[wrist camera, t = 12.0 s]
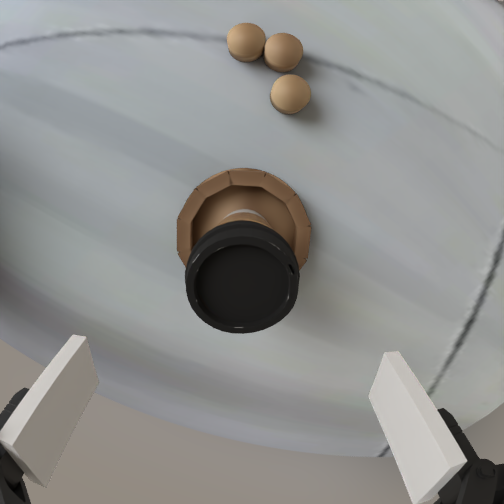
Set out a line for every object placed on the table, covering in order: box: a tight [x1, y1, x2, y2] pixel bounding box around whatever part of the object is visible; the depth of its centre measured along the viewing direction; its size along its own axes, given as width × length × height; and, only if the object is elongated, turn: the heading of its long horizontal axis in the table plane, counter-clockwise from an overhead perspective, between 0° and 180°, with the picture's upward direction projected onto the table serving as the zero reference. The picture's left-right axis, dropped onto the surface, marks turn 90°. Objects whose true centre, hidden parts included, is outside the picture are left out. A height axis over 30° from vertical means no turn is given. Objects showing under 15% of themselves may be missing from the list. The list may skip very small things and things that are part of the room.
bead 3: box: [270, 75, 311, 114], centre depth 29 cm, size 4×4×3 cm
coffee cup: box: [185, 209, 300, 334], centre depth 27 cm, size 8×8×15 cm
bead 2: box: [264, 33, 303, 72], centre depth 27 cm, size 4×4×3 cm
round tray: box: [177, 168, 311, 270], centre depth 34 cm, size 15×15×2 cm
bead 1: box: [227, 23, 266, 62], centre depth 27 cm, size 4×4×3 cm
